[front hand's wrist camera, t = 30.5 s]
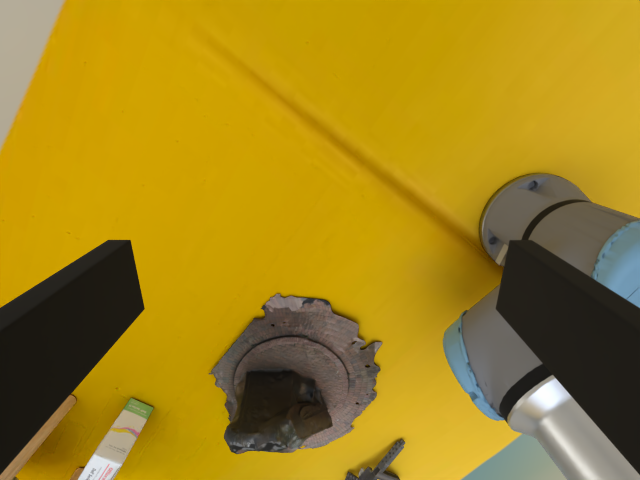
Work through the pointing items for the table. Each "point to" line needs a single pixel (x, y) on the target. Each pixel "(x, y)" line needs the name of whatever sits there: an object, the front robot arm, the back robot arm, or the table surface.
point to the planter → (40, 442)
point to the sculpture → (295, 378)
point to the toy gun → (380, 467)
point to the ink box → (117, 442)
